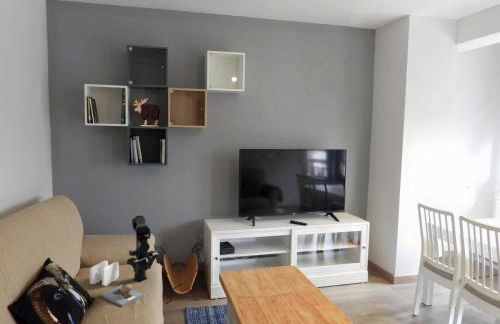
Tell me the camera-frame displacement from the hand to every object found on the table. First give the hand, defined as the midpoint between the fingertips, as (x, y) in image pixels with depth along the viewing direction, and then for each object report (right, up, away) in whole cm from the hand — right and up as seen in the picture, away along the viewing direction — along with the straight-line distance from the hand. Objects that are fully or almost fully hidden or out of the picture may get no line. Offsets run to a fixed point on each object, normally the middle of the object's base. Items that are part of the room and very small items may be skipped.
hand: (143, 271), depth 208 cm
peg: (-6, -13, -9) cm, 17 cm away
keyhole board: (-10, -13, -6) cm, 17 cm away
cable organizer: (-28, -11, +12) cm, 32 cm away
